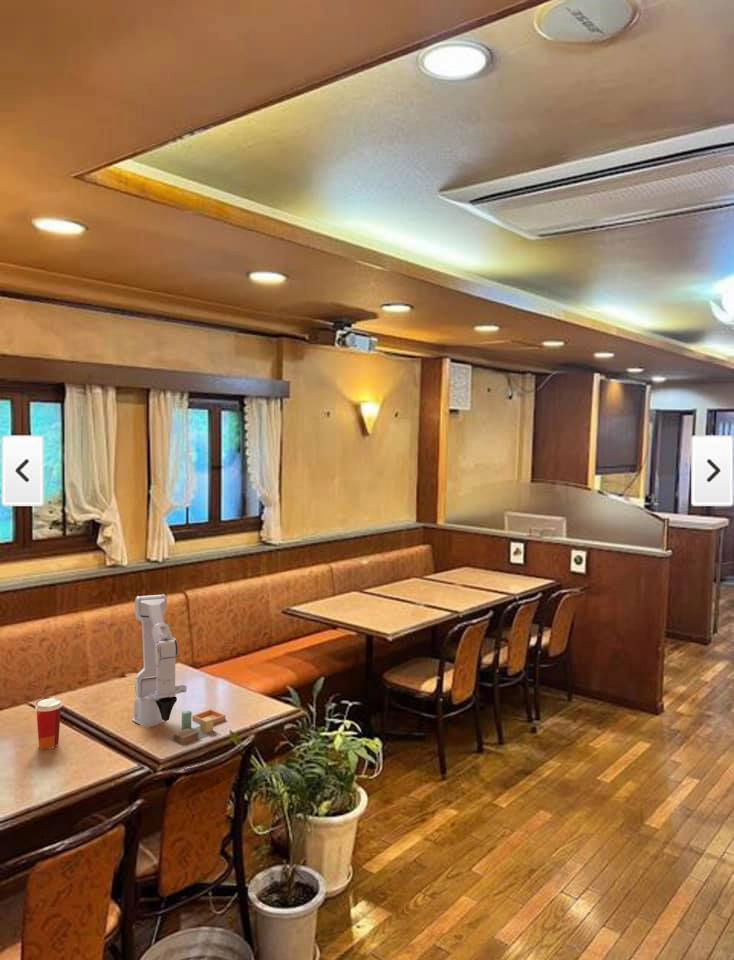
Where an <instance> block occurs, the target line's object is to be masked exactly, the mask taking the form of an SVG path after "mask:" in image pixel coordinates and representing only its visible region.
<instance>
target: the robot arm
mask: <svg viewBox="0 0 734 960" xmlns="http://www.w3.org/2000/svg"><path fill="white" fill-rule="evenodd" d="M167 599H168V598H167V596H166V595H165V593H162V594H153V595H152V594H151V595H140V596H139V595H137V596H136V597H135V600H134V614H135V615H134V616H135V620H138V621H140V623H141V628H142V629H141V633H142V655H143V656H142V657H143V658H142V659H143V668H142V669H141V670H140V671H139V672H138V673H137V674H136V675H135V683H134V691H135V695H136V697H135V699H134V701H133V716H134V717H133V718H132V719H131V721H132V722H133V723H136V724H138V725H140V726H143V727H144V728H147V729H148V728H151V727H153V726H157V725H159V724H162V723H164V722H167V721H169V720H170V718H171V714H172V710H173V707H174V706H175V704H176V702H177V700H178V697H177V696H176V695H177V694H181V693H186V692H187V685H184V684H180V685H176V662H177V661H176V658H178V655H179V646H178V645H179V644H178V640H177V639H176V638H175V637H173V635H172V631H171V628H170V625H169V624H167V623H166V622H165V617H164V614H165V613H166V611H167V608H168V600H167Z"/></svg>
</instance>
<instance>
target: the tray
mask: <svg viewBox="0 0 734 960" xmlns="http://www.w3.org/2000/svg"><path fill="white" fill-rule="evenodd" d="M205 717H210V718H212V719H213V725H215V724H218V723H221V722H223V721H225V720H226V714H223V713H222V712H219V711H217V710H215V709H212V708H210V709H207V710H204V711H202V712H199V713H195V714H192V719H191V721H192V722H195V723H197V724H199V725H200V719H202V718H205Z"/></svg>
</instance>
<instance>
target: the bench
mask: <svg viewBox="0 0 734 960" xmlns="http://www.w3.org/2000/svg"><path fill="white" fill-rule="evenodd" d="M191 729H192V730H194V731H197V732H198V738H197V739H195V740H192V741H190V742H187V743H185V744H182V743H180V742H178V741H175V740H173V738H174V735H173V736H170V737H168V739H169V740H171V741H173V742H175V743H177V744H179V745H181V746H186V745H189V744H192V743H194V742H196V741H199V740H201V739H204V738H207V737H209V736H211V735H214V734H216V733H218V732H217V731H215V730H214V724H213V719H212V718H210V717H205V718H202V719H200V724H199V726H196V727H194V728H191Z"/></svg>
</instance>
